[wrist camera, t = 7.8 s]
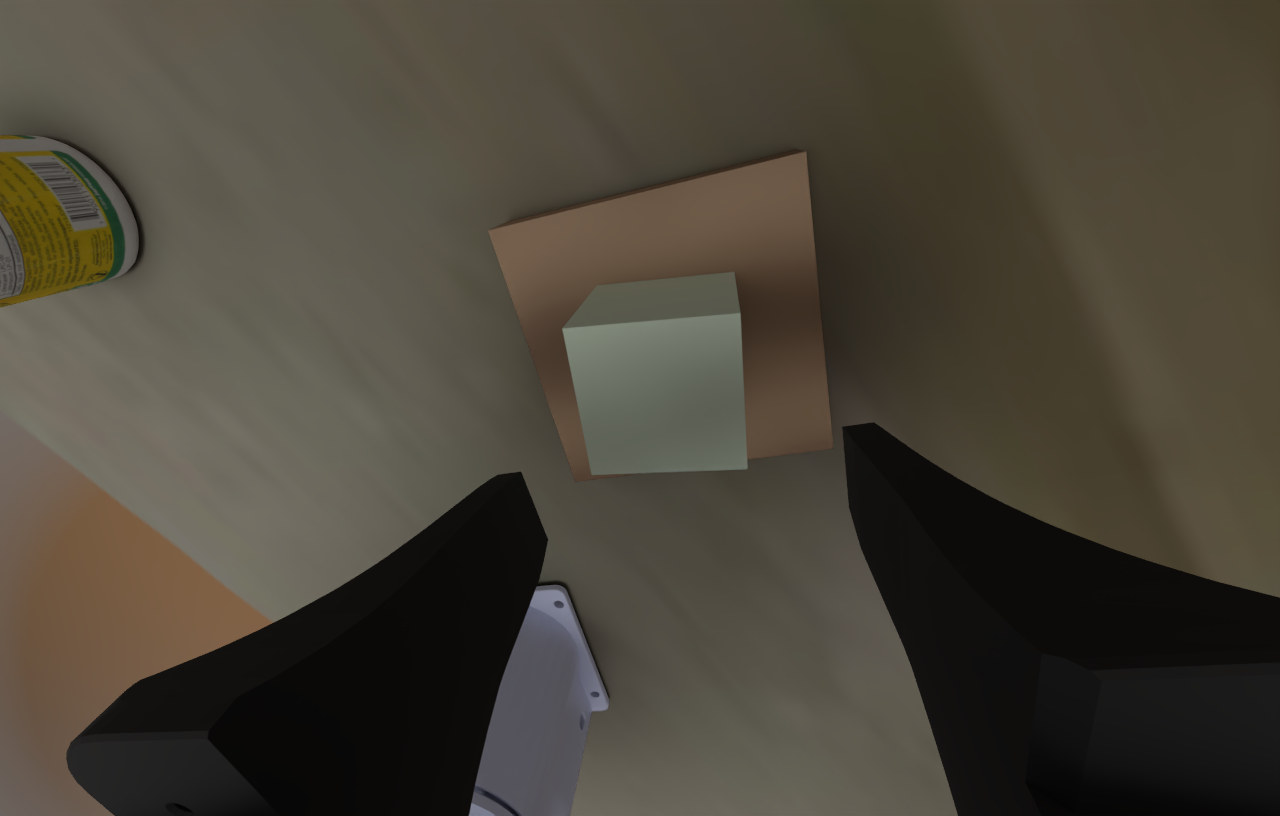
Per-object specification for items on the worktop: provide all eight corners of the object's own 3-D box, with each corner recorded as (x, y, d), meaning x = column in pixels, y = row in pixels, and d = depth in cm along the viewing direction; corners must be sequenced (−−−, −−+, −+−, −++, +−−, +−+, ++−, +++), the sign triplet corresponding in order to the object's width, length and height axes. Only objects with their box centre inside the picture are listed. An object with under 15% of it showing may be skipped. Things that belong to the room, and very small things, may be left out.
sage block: (740, 398, 19) (747, 469, 15) (616, 406, 20) (591, 475, 16) (734, 271, 17) (740, 313, 13) (596, 285, 18) (562, 328, 14)
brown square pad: (821, 416, 21) (833, 448, 19) (588, 449, 24) (575, 481, 21) (794, 148, 17) (805, 151, 15) (513, 219, 19) (488, 230, 17)
